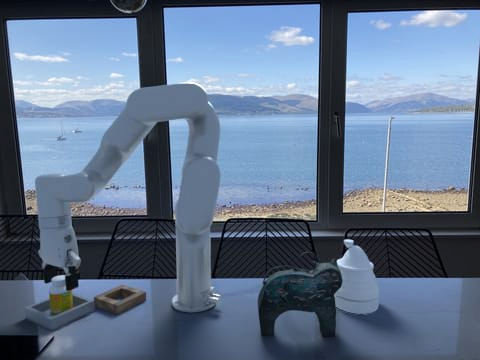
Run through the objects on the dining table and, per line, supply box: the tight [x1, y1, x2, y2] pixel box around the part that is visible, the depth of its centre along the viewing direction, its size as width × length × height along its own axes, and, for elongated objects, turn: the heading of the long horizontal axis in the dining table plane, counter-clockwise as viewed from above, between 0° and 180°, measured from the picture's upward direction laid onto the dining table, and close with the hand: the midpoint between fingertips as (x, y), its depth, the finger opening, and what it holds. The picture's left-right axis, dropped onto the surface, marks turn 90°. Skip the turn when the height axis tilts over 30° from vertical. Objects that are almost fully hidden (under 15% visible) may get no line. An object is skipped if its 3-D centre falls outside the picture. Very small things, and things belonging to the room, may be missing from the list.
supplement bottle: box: [48, 274, 73, 317], centre depth 94 cm, size 5×5×10 cm
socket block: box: [93, 284, 147, 315], centre depth 101 cm, size 10×10×2 cm
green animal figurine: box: [257, 251, 343, 338], centre depth 84 cm, size 20×6×20 cm, turn 90°
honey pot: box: [334, 238, 380, 315], centre depth 99 cm, size 13×13×18 cm
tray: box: [24, 292, 96, 332], centre depth 94 cm, size 12×12×3 cm
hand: (61, 285), depth 94 cm, fingers open, 9 cm apart
